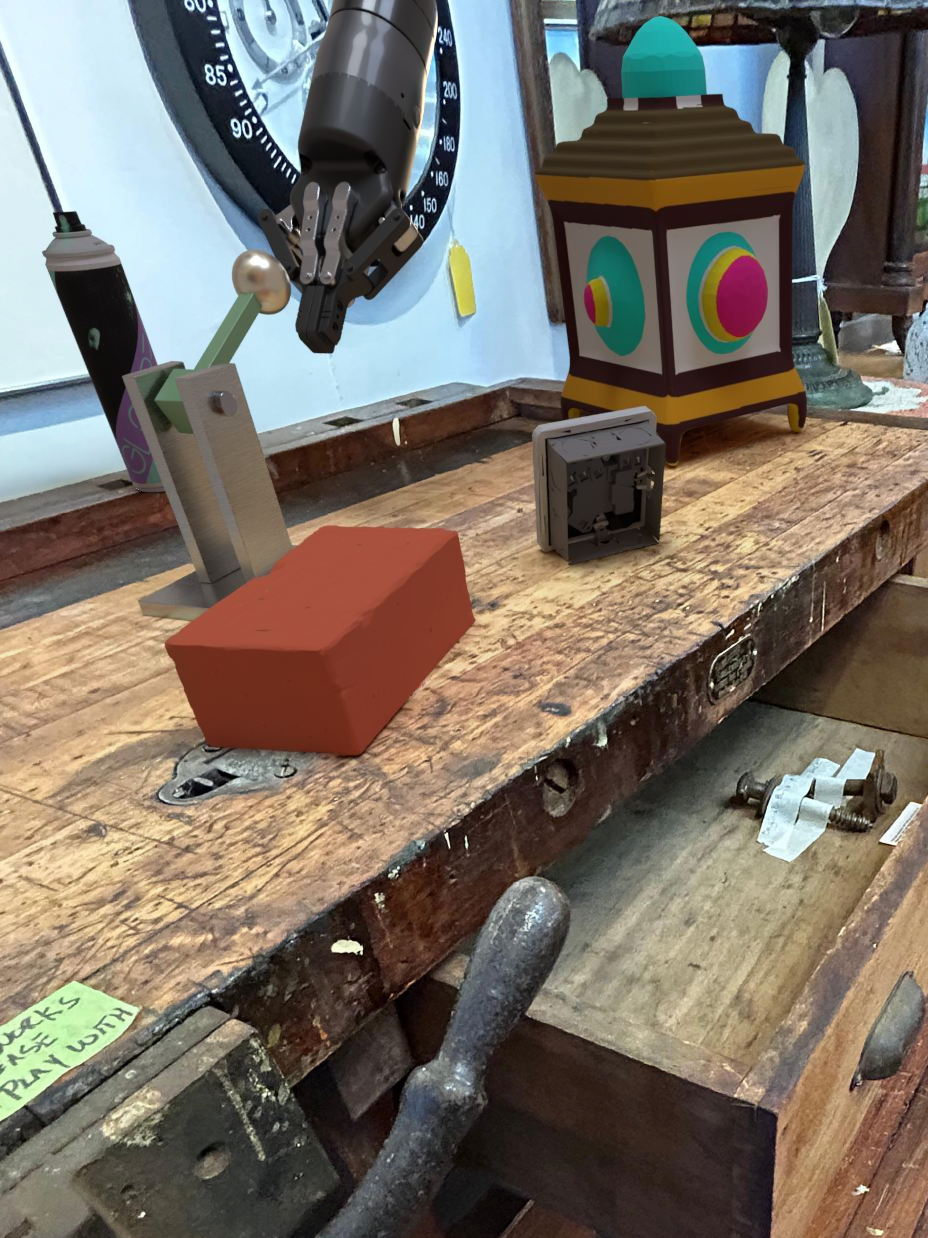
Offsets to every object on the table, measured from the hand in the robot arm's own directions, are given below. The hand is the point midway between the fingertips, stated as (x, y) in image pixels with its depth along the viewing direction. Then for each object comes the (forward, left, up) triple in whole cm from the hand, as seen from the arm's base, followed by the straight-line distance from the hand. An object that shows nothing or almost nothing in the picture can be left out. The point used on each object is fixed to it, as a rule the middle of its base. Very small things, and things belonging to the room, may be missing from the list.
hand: (315, 346), depth 74 cm
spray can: (-10, +25, -13) cm, 30 cm away
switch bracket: (-11, -8, -13) cm, 19 cm away
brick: (-10, -27, -13) cm, 31 cm away
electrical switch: (+13, -17, -13) cm, 25 cm away
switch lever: (-6, -4, 0) cm, 8 cm away
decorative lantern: (+35, +7, -13) cm, 38 cm away
